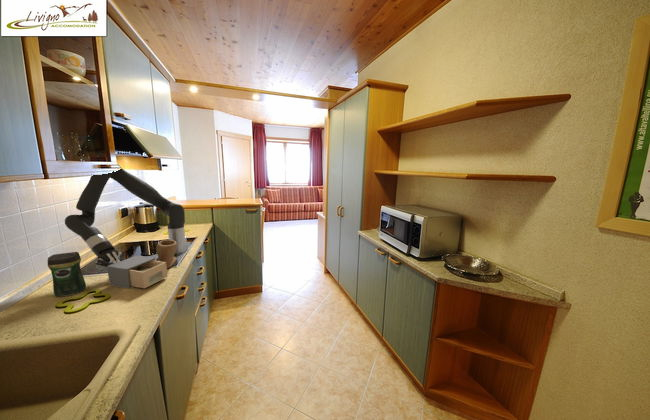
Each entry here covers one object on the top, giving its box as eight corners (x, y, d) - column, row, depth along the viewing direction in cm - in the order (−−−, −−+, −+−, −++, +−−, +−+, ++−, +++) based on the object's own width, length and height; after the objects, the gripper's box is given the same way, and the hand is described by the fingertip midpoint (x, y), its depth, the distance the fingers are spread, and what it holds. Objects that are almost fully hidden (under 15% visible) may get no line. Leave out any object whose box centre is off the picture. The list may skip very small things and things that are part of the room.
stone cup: (175, 269, 129) (172, 243, 127) (150, 271, 126) (147, 245, 123) (182, 259, 143) (180, 236, 141) (160, 260, 140) (157, 237, 137)
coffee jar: (89, 285, 110) (82, 249, 106) (82, 293, 103) (74, 254, 100) (60, 290, 105) (52, 252, 102) (50, 299, 98) (42, 258, 95)
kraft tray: (137, 271, 123) (135, 257, 121) (167, 276, 118) (166, 262, 117) (112, 282, 111) (109, 267, 110) (144, 288, 107) (142, 272, 105)
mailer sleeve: (139, 272, 124) (136, 255, 122) (157, 275, 121) (155, 257, 119) (110, 285, 110) (106, 266, 108) (129, 288, 108) (126, 269, 106)
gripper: (87, 244, 110) (110, 271, 109) (117, 237, 122) (138, 261, 122) (81, 254, 112) (103, 280, 111) (111, 245, 124) (131, 269, 124)
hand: (121, 270), depth 116 cm, fingers closed
